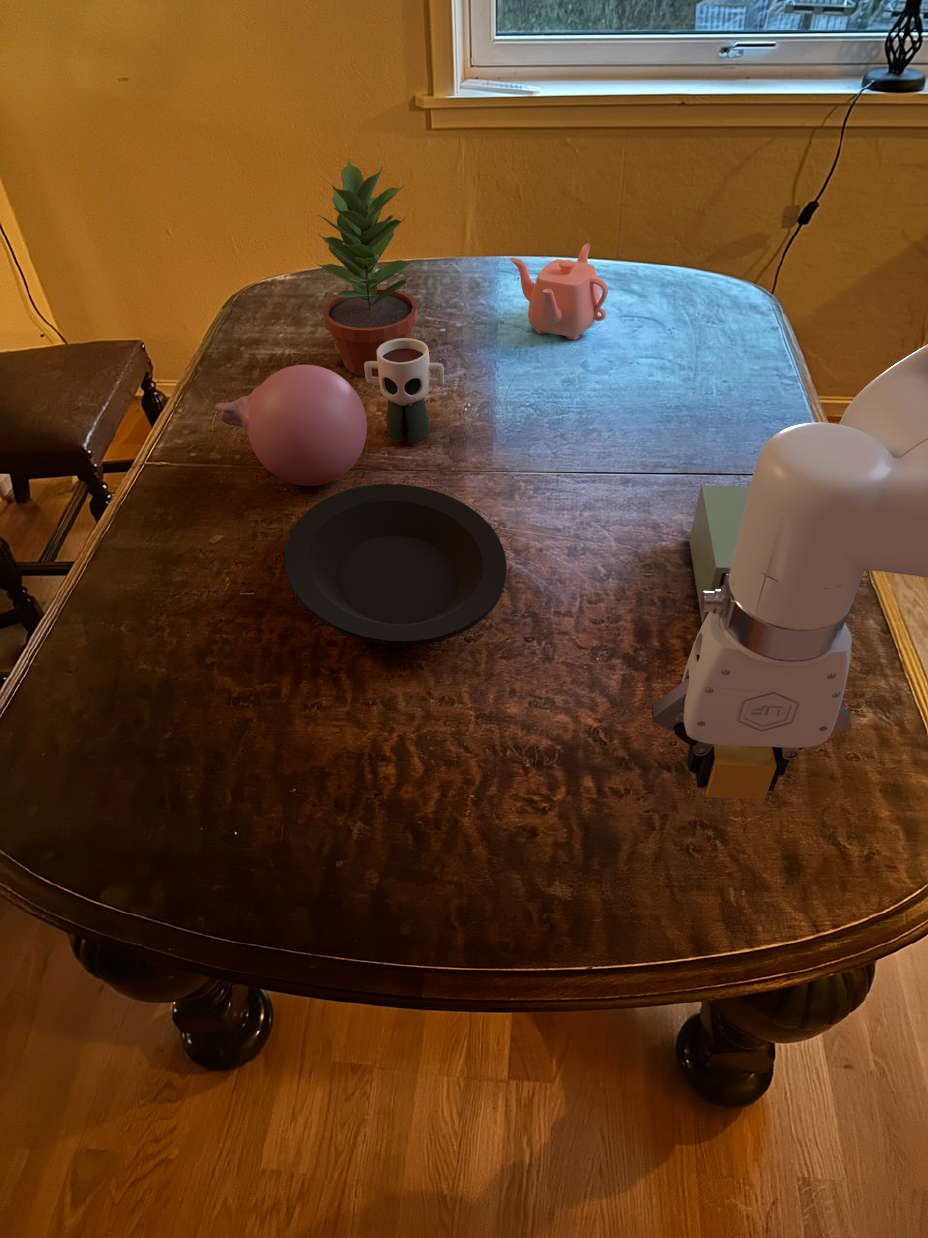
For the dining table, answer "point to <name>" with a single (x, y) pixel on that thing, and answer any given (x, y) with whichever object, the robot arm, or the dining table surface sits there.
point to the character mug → (405, 385)
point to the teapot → (564, 296)
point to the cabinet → (715, 534)
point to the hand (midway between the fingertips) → (732, 772)
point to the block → (741, 772)
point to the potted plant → (365, 275)
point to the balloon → (302, 424)
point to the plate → (395, 564)
